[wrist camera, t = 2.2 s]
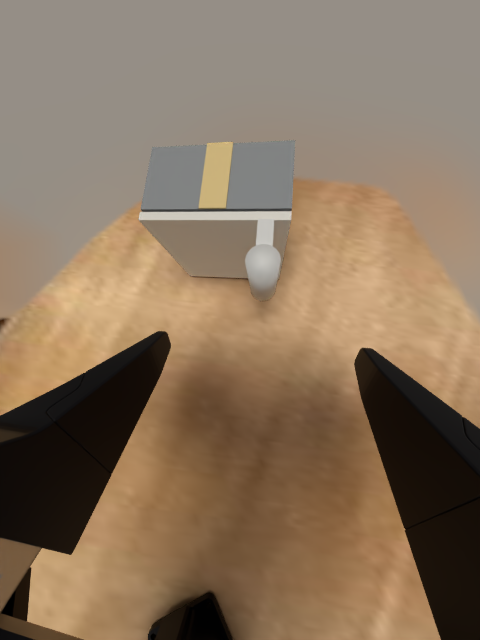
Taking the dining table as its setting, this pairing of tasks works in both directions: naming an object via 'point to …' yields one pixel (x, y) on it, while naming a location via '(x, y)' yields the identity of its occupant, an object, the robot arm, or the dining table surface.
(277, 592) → the dining table surface
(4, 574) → the robot arm
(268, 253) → the white square panel
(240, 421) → the dining table surface
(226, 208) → the carton
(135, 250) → the dining table surface
